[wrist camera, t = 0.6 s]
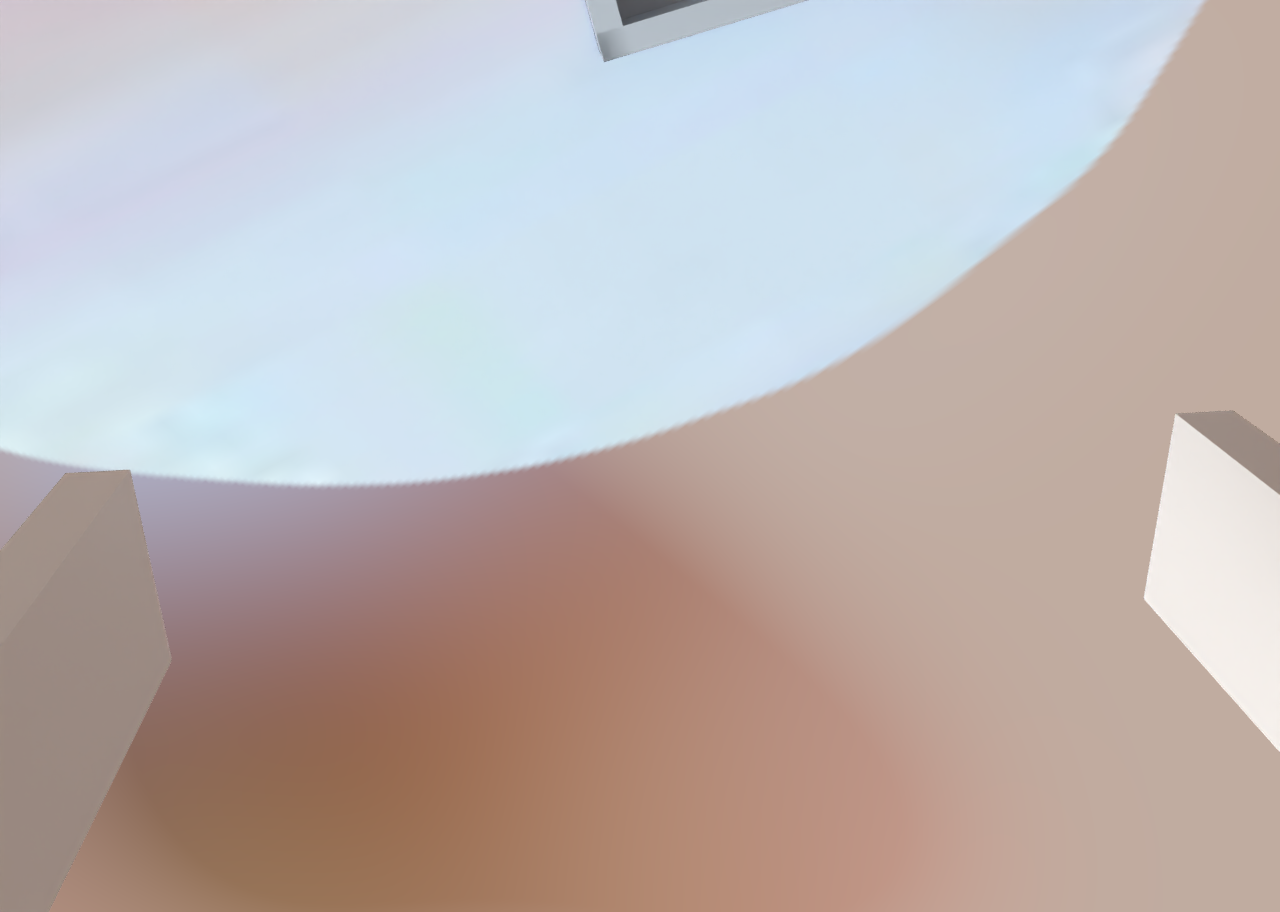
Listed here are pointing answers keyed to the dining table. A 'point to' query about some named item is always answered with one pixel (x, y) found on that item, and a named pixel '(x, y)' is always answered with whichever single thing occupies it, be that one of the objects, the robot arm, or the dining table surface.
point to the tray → (665, 20)
